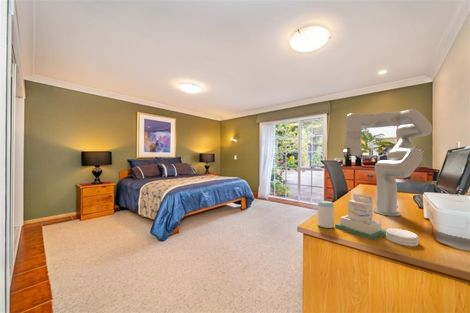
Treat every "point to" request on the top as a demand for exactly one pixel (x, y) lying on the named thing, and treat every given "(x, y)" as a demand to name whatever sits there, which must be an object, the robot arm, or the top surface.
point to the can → (325, 214)
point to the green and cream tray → (361, 228)
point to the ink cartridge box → (360, 209)
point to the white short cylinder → (402, 237)
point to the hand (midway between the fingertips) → (353, 166)
